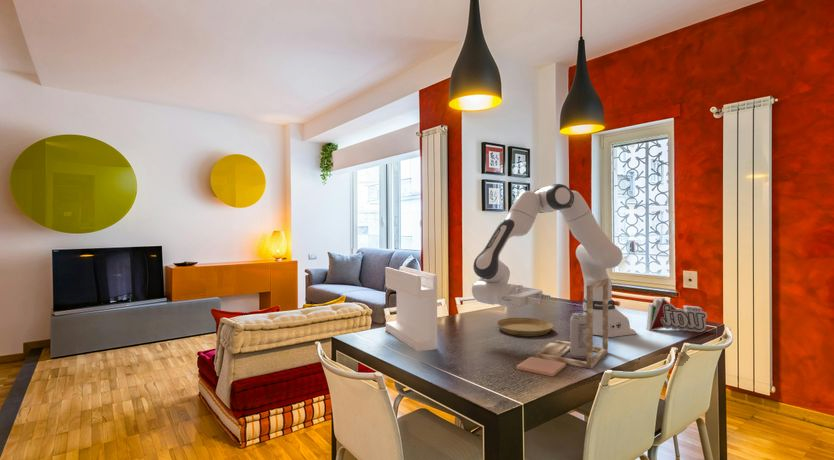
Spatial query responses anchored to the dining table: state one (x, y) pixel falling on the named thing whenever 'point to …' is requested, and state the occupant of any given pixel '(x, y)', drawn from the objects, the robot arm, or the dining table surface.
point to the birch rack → (588, 331)
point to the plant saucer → (524, 326)
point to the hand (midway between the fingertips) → (545, 299)
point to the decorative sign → (675, 317)
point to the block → (414, 307)
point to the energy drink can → (578, 335)
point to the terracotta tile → (541, 366)
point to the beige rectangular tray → (555, 349)
